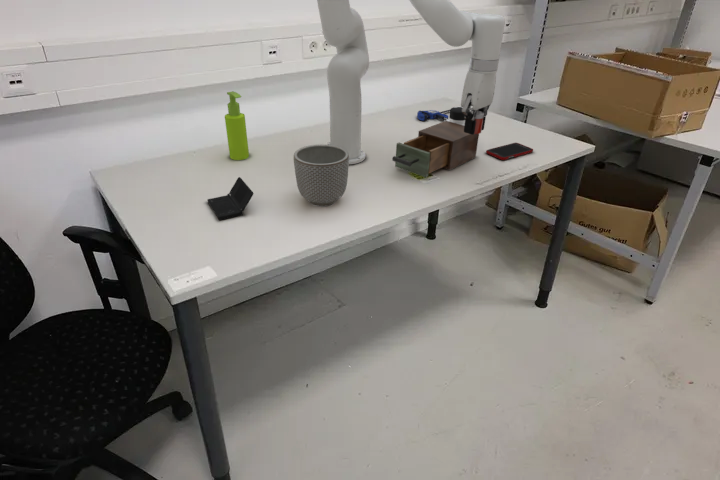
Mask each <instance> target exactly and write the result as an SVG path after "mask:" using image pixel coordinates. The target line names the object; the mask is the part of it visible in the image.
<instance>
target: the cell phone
mask: <svg viewBox="0 0 720 480" xmlns="http://www.w3.org/2000/svg"><path fill="white" fill-rule="evenodd" d="M533 152H534V148H532V147H529V146H527V145H524V144H522V143H519V142H511V143H508V144H505V145H500V146H496V147H493V148H489V149H486V152H485V154H487V155H489V156H491V157H494V158H496V159H499V160H501V161H505V160H508V159H513V158H517V157H520V156H524V155H527V154H531V153H533Z"/></svg>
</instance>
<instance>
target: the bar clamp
mask: <svg viewBox="0 0 720 480" xmlns="http://www.w3.org/2000/svg"><path fill="white" fill-rule="evenodd" d="M448 112H449V113H450V109H447V110H443V111H440V110H435V109H429V110H418V111H417V112H416V113H417V114H416V118H417V120H419V121H421V122H425V121H427V120H428V119H430V120H434V119H438V120H441V121H445V119H449V114H446V113H448Z"/></svg>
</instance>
